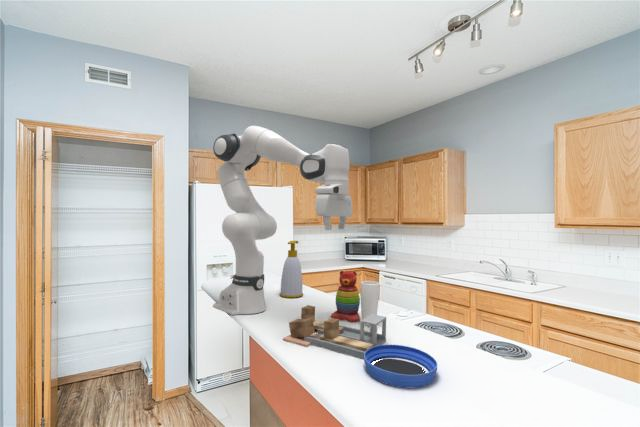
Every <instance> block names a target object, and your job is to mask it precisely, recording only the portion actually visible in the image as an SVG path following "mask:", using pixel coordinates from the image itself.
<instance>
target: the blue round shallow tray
mask: <svg viewBox="0 0 640 427" xmlns="http://www.w3.org/2000/svg"><path fill="white" fill-rule="evenodd" d="M379 359H383V360H380V361H378V362H376V363H375V364H374V365H372V364H371V363H372V362H373V361H376V360H379ZM363 360H364V365H365V370H366V372H367V373H368V374H369V376H370V377H372V378H373V379H375V380H376V379H377V380H376V381H378V380H379V381H378V382H380V381H381V383H383V382H384V383H383V384H385V383H387V385H388V384H389V386H392V385H393V387H397V386H399V387H398V388H405V387H415V388H420V387H419V386H422V387H425V386H428V385H430V384H431V383H432V382H433V381H434V379H435V375H436V374H437V372H438V362H437V360H436V359H435V358H434V356H432V355H431V354H429V353H428V352H425V351H423V350H421V349H418V348H416V347H415V348H414V347H411V346H407V345H403V344H402V345H401V344H400V345H399V344H382V345H378V346H374V347H371V348H369V349H368V350H367V351H366V352H365V353H364V359H363ZM410 361H411V362H410ZM421 366H422V367H421ZM423 367H424V368H425V369H426V370H427V371H428V372H427V371H426V370H425V369H424V368H423ZM422 368H423V370H422ZM424 370H425V371H424ZM423 371H424V372H423ZM425 372H427V373H425ZM424 385H425V386H424Z"/></svg>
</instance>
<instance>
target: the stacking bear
mask: <svg viewBox="0 0 640 427" xmlns="http://www.w3.org/2000/svg"><path fill="white" fill-rule="evenodd" d="M338 279H339V280H338V281H339V284H340V285H339V286H338V288H337V290H336V295H335V307H336V311H333V312H332V313H331V315H330V318H335V319H339V321H345V320H346V322H349V323H353V322H354V323H358V322H359V321H361V319H360V318H361V316H360V314H359V309H360V306H361V296H360V292H359V290H358V287H357V286H356V284H357V279H358V278H357V272H356V271H351V270H346V271H345V270H341V271H340V272H339V278H338Z"/></svg>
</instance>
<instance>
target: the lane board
mask: <svg viewBox="0 0 640 427" xmlns="http://www.w3.org/2000/svg"><path fill="white" fill-rule="evenodd" d="M359 321H360V322H359V324H360V325H359V328H355V327H350V326H345V325H343V324H339V327H343V328H344V332H342V333H340V334H339V336H342V337H346V338H350V339H354V340H358V341H362V342H366V343H370V344H374V346H378V345H384V343H386V341H387V316H384V315H378V314H377V315H374V314H371V315H369V316H368V317H366V318H364V319H363V320H362V319H360V320H359ZM365 324H368V325H370V326H369V330H365V326H366V325H365ZM380 324H382V326H381V333H378V325H380ZM315 334H316V335H317V336H316V335H314V336H316V337H313V336H312V338H311V337H308V336H307V337H304V341H307V342H311V345H312V346H315V347H318V348H322V349H327V350H330V351H333V352H337V353H340V354H344V355H346V356H350V355H351V356H350V357H354V358H357V359H362V360H364V353H365V351H361V350H357V349H353V348H349V347H346V346H342V345H338V344H334V343H330V342H327V341H323V340H319V337H318V335H320V336H321V335H323V334H324V330H321V329H318V330H317V333H315ZM315 338H317V339H315ZM311 345H310V346H311Z"/></svg>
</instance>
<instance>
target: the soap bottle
mask: <svg viewBox="0 0 640 427" xmlns="http://www.w3.org/2000/svg"><path fill="white" fill-rule="evenodd" d="M296 244H299V241H298V240H290V241H288V242H287V245H290V249H289V250H287V251H288V252H287V257H286V258H285V260H284V264H283V267H282V271H281V272H282V273H281V274H282V275H281V280H280V292H279V296H281V297H283V298H285V297H286V299H297V298H296V297H298V298H301V297H303V295H304V292H303V274H302V266H301V261H300V259H299V257H298V250H296V249H295V247H296ZM300 296H301V297H300Z"/></svg>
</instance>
